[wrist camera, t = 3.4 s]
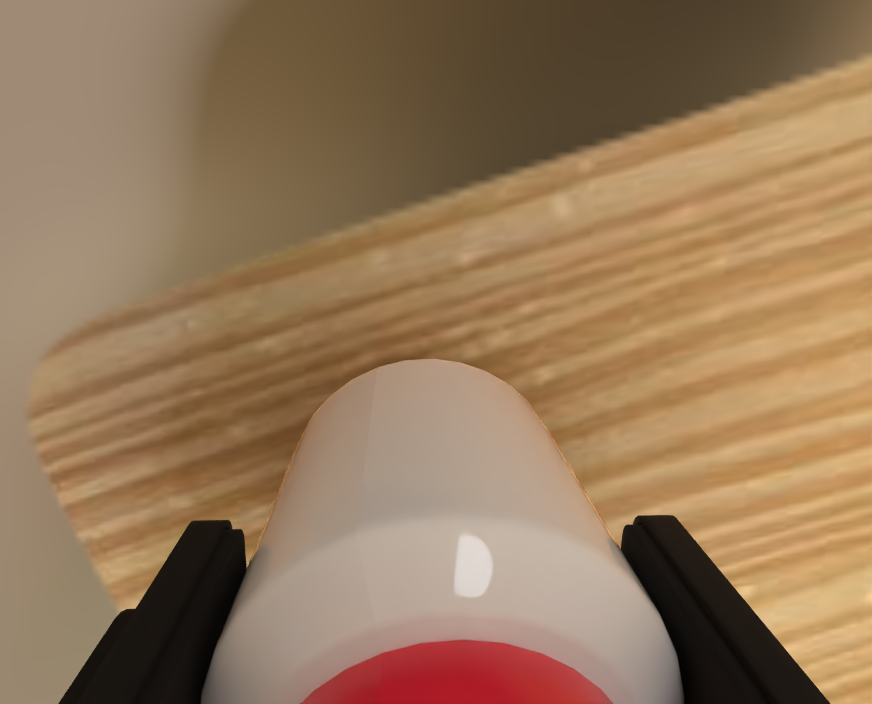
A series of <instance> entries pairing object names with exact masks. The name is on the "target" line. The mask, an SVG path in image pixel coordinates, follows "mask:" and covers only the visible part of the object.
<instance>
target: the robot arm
mask: <svg viewBox="0 0 872 704" xmlns="http://www.w3.org/2000/svg"><path fill="white" fill-rule="evenodd" d="M621 551H622V552H623V554H624V556H625V557H626V559H627V561H628V562H629V564H630V566H631V567H632V569H633V570H634V572H635V574H636V575H637V577H638V579H639V580H640V582H641V584H642V585H643V587H644V589H645V590H646V592H647V594H648V595H649V597H650V599H651V600H652V602H653V603H654V605H655V607H656V609H657V611H658V612H659V614H660V616H661V618H662V621H663V623H664V625H665V627H666V630H667V632H668V634H669V637H670V639H671V641H672V643H673V646H674V648H675V650H676V653H677V658H678V663H679V669H680V674H681V680H682V686H683V692H684V698H685V699H684V704H830V703H829V701H828V700H827V699H826V698H825V697H824V695H823V694H822V693H821V692H820V691H819V689H818V688H817V687H816V686H815V685H814V683H813V682H812V681H811V680H810V679H809V677H808V676H807V675H806V674H805V673H804V671H803V670H802V669H801V668H800V667H799V665H798V664H797V663H796V662H795V661H794V659H793V658H792V657H791V656H790V654H789V653H788V652H787V651H786V650H785V648H784V647H783V646H782V645H781V644H780V642H779V641H778V640H777V639H776V638H775V636H774V635H773V634H772V633H771V632H770V630H769V629H768V628H767V627H766V626H765V624H764V623H763V622H762V621H761V620H760V618H759V617H758V616H757V615H756V614H755V612H754V611H753V610H752V609H751V607H750V606H749V605H748V604H747V603H746V601H745V600H744V599H743V598H742V597H741V595H740V594H739V593H738V592H737V591H736V589H735V588H734V587H733V586H732V585H731V583H730V582H729V581H728V580H727V579H726V577H725V576H724V575H723V574H722V573H721V571H720V570H719V569H718V568H717V567H716V565H715V564H714V563H713V562H712V561H711V559H710V558H709V557H708V556H707V554H706V553H705V552H704V551H703V550H702V548H701V547H700V546H699V545H698V544H697V542H696V541H695V540H694V539H693V538H692V536H691V535H690V534H689V533H688V532H687V530H686V529H685V528H684V527H683V526H682V524H681V523H680V522H679V521H678V520H677V518H675V517H674V516H672V515H647V516H637V517H636V518H635V520H634V522H633V525H626V526H625V527H624V529H623V534H622V543H621ZM246 570H247V569H246V554H245V540H244V533H243V531H242V529H232V525H231V522H230V521H229V520H201V521H191V523H190V524H189V525H188V527H187V528H186V530H185V531H184V533H183V534H182V536H181V538H180V539H179V541H178V542H177V544H176V546H175V547H174V549H173V550H172V552H171V554H170V555H169V557H168V558H167V560H166V561H165V563H164V565H163V566H162V568H161V569H160V571H159V573H158V574H157V576H156V577H155V579H154V581H153V582H152V584H151V585H150V587H149V588H148V590H147V592H146V593H145V595H144V596H143V598H142V600H141V601H140V603H139V604H138V606H137V608H136V609H126V610H124V611H122V612H120V614H119V615H118V616H117V617H116V618H115V619H114V621H113V622H112V624H111V625H110V627H109V628H108V630H107V632H106V633H105V635H104V636H103V637H102V639H101V640H100V642H99V644H98V645H97V646H96V648H95V649H94V651H93V652H92V654H91V656H90V657H89V659H88V660H87V662H86V663H85V665H84V666H83V668H82V669H81V671H80V672H79V674H78V675H77V677H76V678H75V680H74V681H73V683H72V685H71V686H70V687H69V689H68V690H67V692H66V693H65V695H64V696H63V698H62V699H61V701H60V702H59V704H201V691H202V688H203V685H204V682H205V679H206V675H207V672H208V669H209V666H210V663H211V660H212V657H213V653H214V650H215V648H216V645H217V642H218V639H219V637H220V634H221V632H222V629H223V627H224V624H225V622H226V619H227V617H228V614H229V612H230V609H231V607H232V604H233V602H234V600H235V597H236V595H237V592H238V590H239V587H240V585H241V582H242V580H243V577H244V575H245V572H246Z"/></svg>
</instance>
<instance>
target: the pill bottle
mask: <svg viewBox="0 0 872 704" xmlns="http://www.w3.org/2000/svg"><path fill="white" fill-rule="evenodd" d="M684 699H685V698H684V692H683V686H682V680H681V674H680V669H679V663H678V658H677V653H676V650H675V648H674V646H673V643H672V641H671V639H670V637H669V634H668V632H667V630H666V627H665V625H664V623H663V621H662V618H661V616H660V614H659V612H658V611H657V609H656V607H655V605H654V603H653V602H652V600H651V599H650V597H649V595H648V594H647V592H646V590H645V589H644V587H643V585H642V584H641V582H640V580H639V579H638V577H637V575H636V574H635V572H634V570H633V569H632V567H631V566H630V564H629V562H628V561H627V559H626V557H625V556H624V554H623V552H622V551H621V549H620V547H619V546H618V544H617V542H616V541H615V539H614V537H613V536H612V534H611V533H610V531H609V529H608V528H607V526H606V524H605V523H604V521H603V519H602V518H601V516H600V514H599V513H598V511H597V509H596V508H595V506H594V504H593V503H592V501H591V500H590V498H589V496H588V495H587V493H586V491H585V490H584V488H583V486H582V485H581V483H580V481H579V480H578V478H577V476H576V475H575V473H574V471H573V470H572V468H571V467H570V465H569V463H568V462H567V460H566V458H565V457H564V455H563V453H562V452H561V450H560V448H559V447H558V445H557V443H556V442H555V440H554V439H553V437H552V435H551V434H550V432H549V430H548V429H547V427H546V425H545V424H544V422H543V421H542V419H541V418H540V417H539V415H538V414H537V413H536V411H535V410H534V409H533V407H532V406H531V405H530V403H529V402H528V401H527V400H526V399H525V398H524V397H523V396H522V395H520V394H519V393H518V392H517V391H516V390H515V389H514V388H512V387H511V386H510V385H509V384H508V383H506V382H504V381H502V380H501V379H499V378H497V377H495V376H494V375H492V374H490V373H488V372H487V371H485V370H482V369H479V368H476V367H473V366H470V365H466V364H463V363H460V362H454V361H446V360H439V359H419V360H404V361H400V362H396V363H392V364H388V365H385V366H381V367H377V368H375V369H373V370H371V371H369V372H367V373H364V374H362V375H360V376H358V377H356V378H354V379H352V380H351V381H349V382H348V383H347V384H345V385H344V386H343V387H341V388H340V389H339V390H337V391H336V392H334V393H333V394H332V395H331V396H330V397H329V398H328V399H327V400H326V401H325V402H324V403H323V404H322V406H321V407H320V408H319V409H318V410H317V411H316V412H315V413H314V414H313V416H312V418H311V419H310V421H309V423H308V425H307V426H306V428H305V430H304V431H303V433H302V435H301V437H300V438H299V441H298V443H297V446H296V448H295V451H294V453H293V456H292V458H291V461H290V463H289V466H288V468H287V471H286V473H285V476H284V478H283V480H282V483H281V485H280V488H279V490H278V493H277V495H276V498H275V500H274V503H273V505H272V508H271V510H270V513H269V515H268V518H267V520H266V523H265V525H264V528H263V530H262V533H261V535H260V538H259V540H258V542H257V545H256V547H255V550H254V552H253V555H252V557H251V560H250V562H249V565H248V567H247V570H246V572H245V575H244V577H243V580H242V582H241V585H240V587H239V590H238V592H237V595H236V597H235V600H234V602H233V604H232V607H231V609H230V612H229V614H228V617H227V619H226V622H225V624H224V627H223V629H222V632H221V634H220V637H219V639H218V642H217V645H216V648H215V650H214V653H213V657H212V660H211V663H210V666H209V669H208V672H207V675H206V679H205V682H204V685H203V688H202V691H201V704H684Z"/></svg>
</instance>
